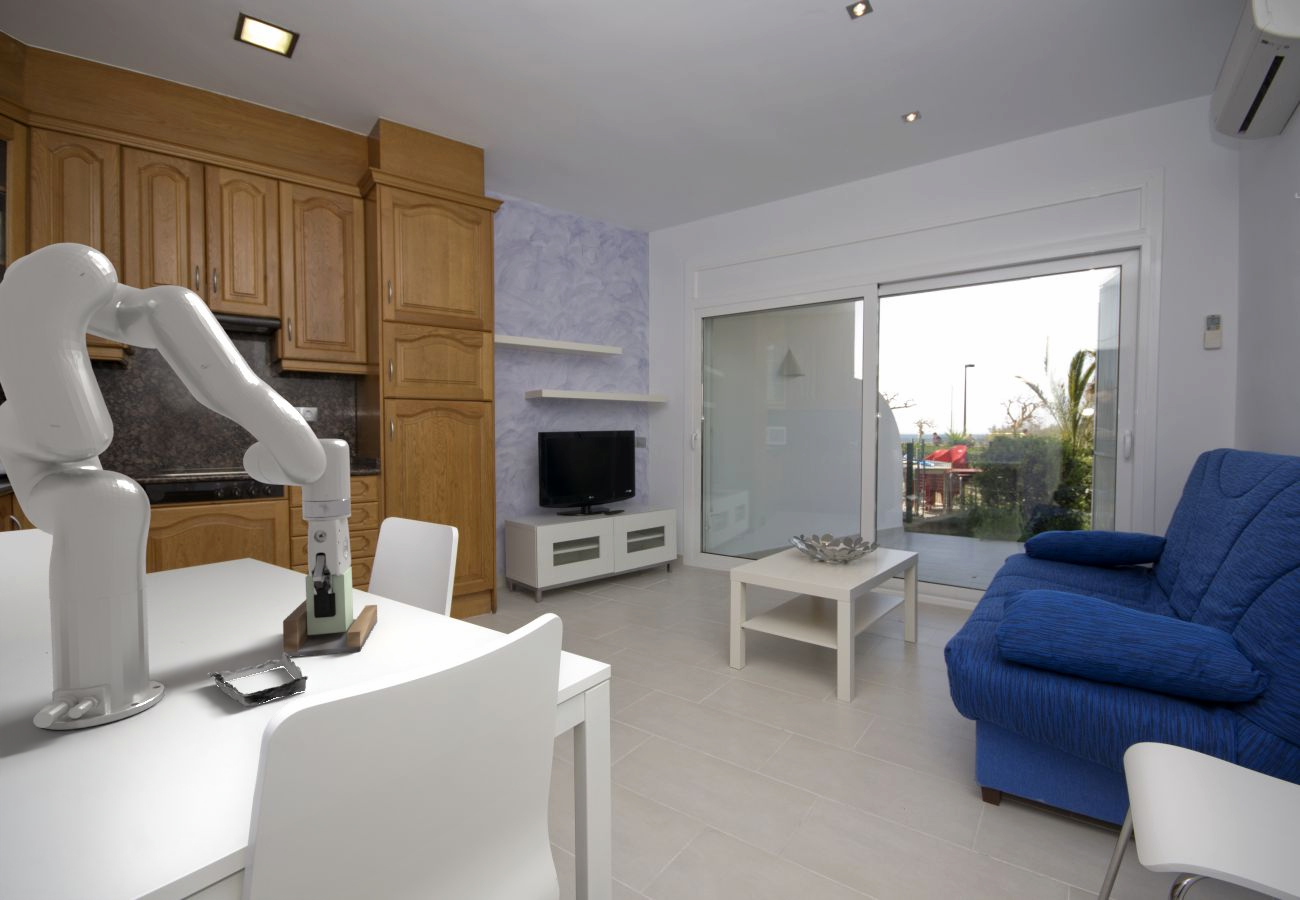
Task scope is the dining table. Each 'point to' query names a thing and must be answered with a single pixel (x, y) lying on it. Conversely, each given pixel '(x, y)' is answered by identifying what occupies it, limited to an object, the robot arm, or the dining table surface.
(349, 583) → the pale green tall block
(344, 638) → the cleat board
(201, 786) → the dining table surface
